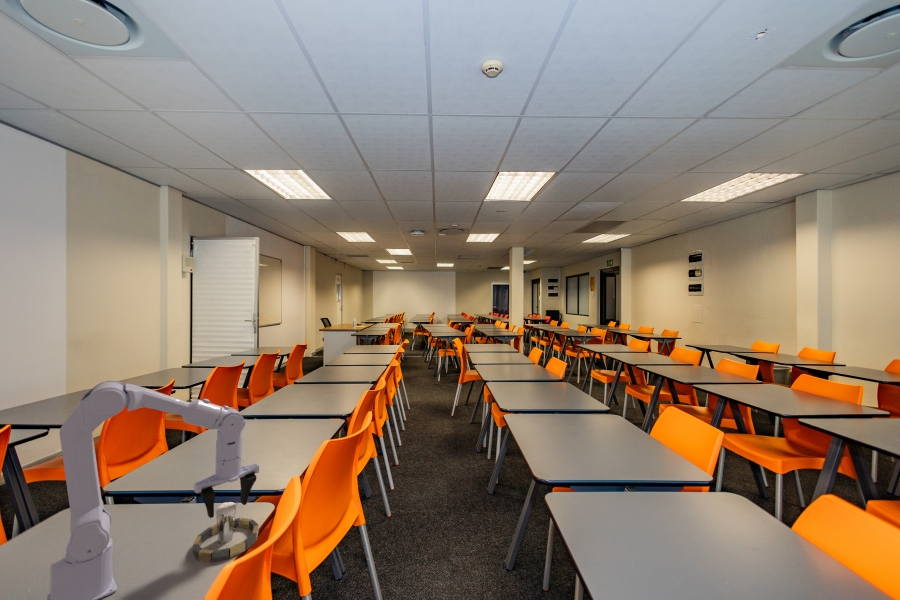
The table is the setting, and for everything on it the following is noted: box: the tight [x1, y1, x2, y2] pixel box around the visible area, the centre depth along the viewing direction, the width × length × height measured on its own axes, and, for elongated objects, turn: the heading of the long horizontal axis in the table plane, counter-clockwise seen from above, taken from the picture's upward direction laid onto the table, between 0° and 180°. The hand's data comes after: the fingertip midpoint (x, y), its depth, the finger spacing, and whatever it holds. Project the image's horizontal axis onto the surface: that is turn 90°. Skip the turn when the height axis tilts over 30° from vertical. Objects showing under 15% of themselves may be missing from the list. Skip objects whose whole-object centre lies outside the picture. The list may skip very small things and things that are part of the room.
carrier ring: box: [192, 517, 260, 563], centre depth 93 cm, size 14×14×2 cm
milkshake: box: [215, 500, 239, 544], centre depth 94 cm, size 4×5×10 cm
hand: (227, 509), depth 93 cm, fingers open, 7 cm apart
